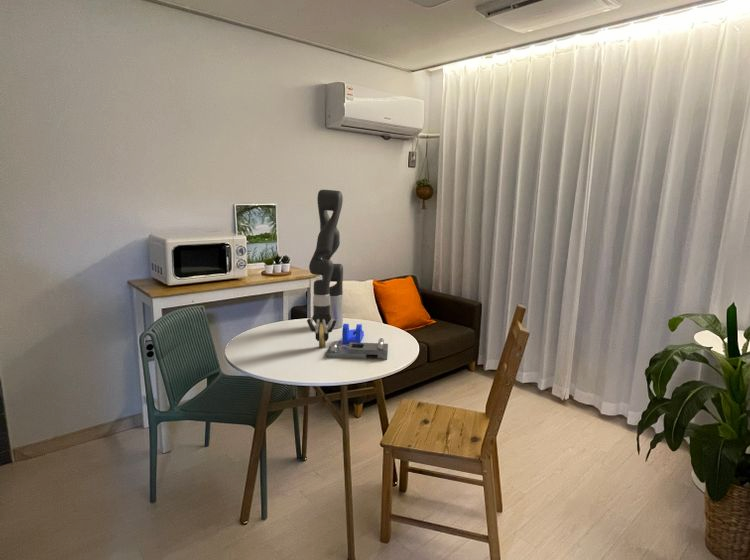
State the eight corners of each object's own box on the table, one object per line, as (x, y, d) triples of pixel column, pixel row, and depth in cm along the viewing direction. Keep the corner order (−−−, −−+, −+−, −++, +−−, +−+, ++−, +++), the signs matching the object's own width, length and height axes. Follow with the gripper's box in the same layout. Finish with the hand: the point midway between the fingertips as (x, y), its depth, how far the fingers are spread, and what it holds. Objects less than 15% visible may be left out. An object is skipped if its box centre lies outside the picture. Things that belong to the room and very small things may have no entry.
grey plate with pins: (329, 350, 196) (329, 336, 195) (387, 352, 195) (388, 338, 194) (325, 357, 188) (325, 342, 186) (387, 359, 186) (387, 345, 185)
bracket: (360, 345, 204) (360, 326, 202) (342, 344, 204) (342, 326, 203) (364, 333, 221) (364, 316, 220) (348, 332, 222) (348, 315, 220)
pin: (319, 345, 202) (319, 320, 199) (326, 346, 201) (325, 320, 199) (318, 348, 199) (318, 322, 196) (324, 348, 199) (324, 322, 196)
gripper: (338, 302, 200) (338, 338, 203) (308, 301, 200) (308, 337, 204) (336, 306, 192) (336, 343, 195) (304, 305, 193) (304, 342, 196)
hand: (322, 340), depth 200 cm, fingers closed on pin, 3 cm apart
